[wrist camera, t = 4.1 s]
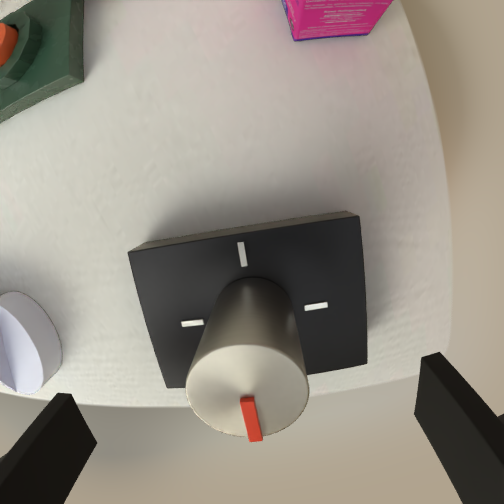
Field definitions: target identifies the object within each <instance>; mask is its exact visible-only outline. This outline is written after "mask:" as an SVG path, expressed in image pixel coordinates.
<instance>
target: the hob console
mask: <svg viewBox="0 0 504 504" xmlns="http://www.w3.org/2000/svg"><path fill="white" fill-rule="evenodd" d="M128 256H129V261H130V265H131V269H132V273H133V277H134V281H135V285H136V289H137V293H138V296H139V300H140V304H141V308H142V311H143V315H144V318H145V322H146V325H147V328H148V332H149V335H150V338H151V342H152V345H153V348H154V351H155V354H156V357H157V360H158V363H159V367H160V369H161V372H162V375H163V378H164V381H165V384H166V387H167V388H185V386H186V379H187V375H188V372H189V370H190V367H191V364H192V362H193V359H194V356H195V354H196V351H197V349H198V346H199V343H200V341H201V338H202V336H203V333H204V330H205V328H206V325H207V323H208V320H209V317H210V315H211V312H212V310H213V307H214V305H215V302H216V300H217V298H218V296H219V294H220V293H221V292H222V291H223V289H225V288H226V287H227V286H228V285H230V284H231V283H233V282H235V281H237V280H240V279H244V278H262V279H266V280H269V281H271V282H273V283H275V284H277V285H278V286H279V287H281V288H282V289H283V290H284V291H285V293H286V294H287V295H288V297H289V299H290V301H291V303H292V307H293V311H294V316H295V321H296V325H297V330H298V335H299V340H300V344H301V349H302V354H303V359H304V364H305V369H306V374H307V375H311V374H317V373H323V372H328V371H334V370H339V369H344V368H350V367H355V366H359V365H364V364H367V310H366V288H365V272H364V258H363V246H362V236H361V225H360V217H359V216H358V215H356V214H353V213H351V212H348V211H342V212H334V213H327V214H320V215H313V216H307V217H300V218H293V219H286V220H280V221H273V222H267V223H260V224H254V225H247V226H241V227H235V228H229V229H222V230H216V231H210V232H204V233H198V234H192V235H186V236H181V237H175V238H169V239H163V240H158V241H152V242H146V243H143V244H141V245H140V246H138V247H136V248H134V249H132V250H131V251H129V252H128Z"/></svg>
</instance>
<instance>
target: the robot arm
mask: <svg viewBox="0 0 504 504" xmlns="http://www.w3.org/2000/svg"><path fill="white" fill-rule="evenodd" d="M414 415H415V417H416V419H417V420H418V422H419V424H420V426H421V427H422V429H423V431H424V433H425V434H426V436H427V438H428V440H429V442H430V443H431V445H432V447H433V449H434V450H435V452H436V454H437V456H438V458H439V459H440V461H441V463H442V465H443V467H444V469H445V471H446V472H447V474H448V476H449V478H450V480H451V482H452V484H453V486H454V488H455V489H456V491H457V493H458V495H459V497H460V499H461V501H462V503H463V504H504V414H502V415H500V416H498V417H497V416H496V415H495V414H494V412H493V411H492V410H491V409H490V408H489V406H488V405H487V404H486V403H485V402H484V401H483V400H482V398H481V397H480V396H479V395H478V394H477V393H476V392H475V390H474V389H473V388H472V387H471V386H470V385H469V384H468V382H467V381H466V380H465V379H464V378H463V377H462V376H461V375H460V374H459V372H458V371H457V370H456V369H455V368H454V367H453V366H452V365H451V364H450V363H449V362H448V360H447V359H446V358H445V357H444V356H443V355H442V354H441V353H440V352H438V353H434V354H431V355H428V356H424V357H421V367H420V376H419V384H418V391H417V399H416V405H415V412H414ZM96 444H97V441H96V440H95V438H94V436H93V434H92V433H91V431H90V429H89V427H88V425H87V424H86V422H85V420H84V418H83V416H82V414H81V413H80V410H79V409H78V406H77V404H76V402H75V400H74V398H73V396H72V394H67V393H57V394H56V395H55V396H54V398H53V399H52V400H51V401H50V402H49V404H48V405H47V406H46V407H45V408H44V409H43V411H42V412H41V413H40V414H39V415H38V417H37V418H36V419H35V420H34V421H33V423H32V424H31V425H30V426H29V427H28V429H27V430H26V431H25V432H24V433H23V435H22V436H21V437H20V438H19V440H18V441H17V442H16V443H15V445H14V446H13V447H12V449H11V450H10V451H9V452H8V453H7V454H5V455H4V456H2V457H1V458H0V504H64V502H65V500H66V498H67V497H68V495H69V493H70V491H71V489H72V487H73V486H74V483H75V482H76V480H77V478H78V476H79V475H80V473H81V471H82V469H83V467H84V466H85V464H86V462H87V460H88V459H89V457H90V455H91V453H92V451H93V450H94V448H95V446H96Z"/></svg>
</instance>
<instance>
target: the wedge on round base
mask: <svg viewBox="0 0 504 504" xmlns="http://www.w3.org/2000/svg"><path fill="white" fill-rule="evenodd" d="M61 362H62V349H61V343H60V339H59V337H58V334H57V331H56V329H55V327H54V325H53V323H52V322H51V320H50V318H49V317H48V315H47V314H46V313H45V311H44V310H43V309H42V308H41V307H40V306H39V305H38V304H37V303H36V302H35V301H34V300H33V299H31V298H30V297H29V296H27V295H25V294H23V293H20V292H16V291H11V292H7V293H5V294H3V295H1V296H0V384H2V385H4V386H6V387H8V388H10V389H12V390H14V391H16V392H19V393H22V394H27V395H30V394H34V393H36V392H38V391H39V390H40V389H41V388H42V387H43V386H44V385H45V384H46V383H47V381H48V380H49V379H50V378H51V377H52V376H53V375H54V374H55V373H56V372H57V371H58V370H59V368H60V366H61Z"/></svg>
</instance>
